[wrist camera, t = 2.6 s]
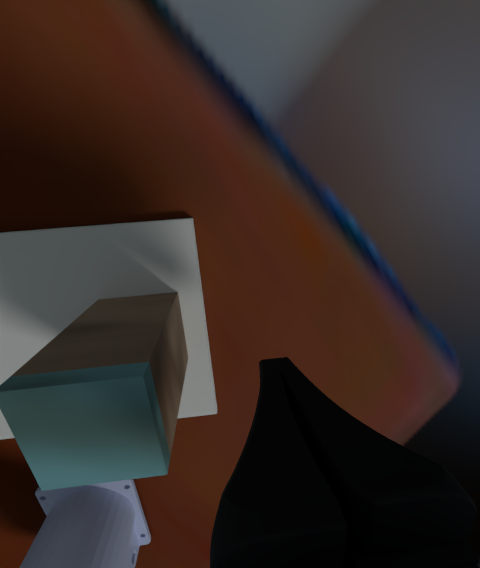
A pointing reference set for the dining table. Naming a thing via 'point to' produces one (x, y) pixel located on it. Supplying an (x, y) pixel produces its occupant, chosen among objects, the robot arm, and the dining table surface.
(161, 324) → the teal and wood block
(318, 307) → the dining table surface
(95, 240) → the mat
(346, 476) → the robot arm
